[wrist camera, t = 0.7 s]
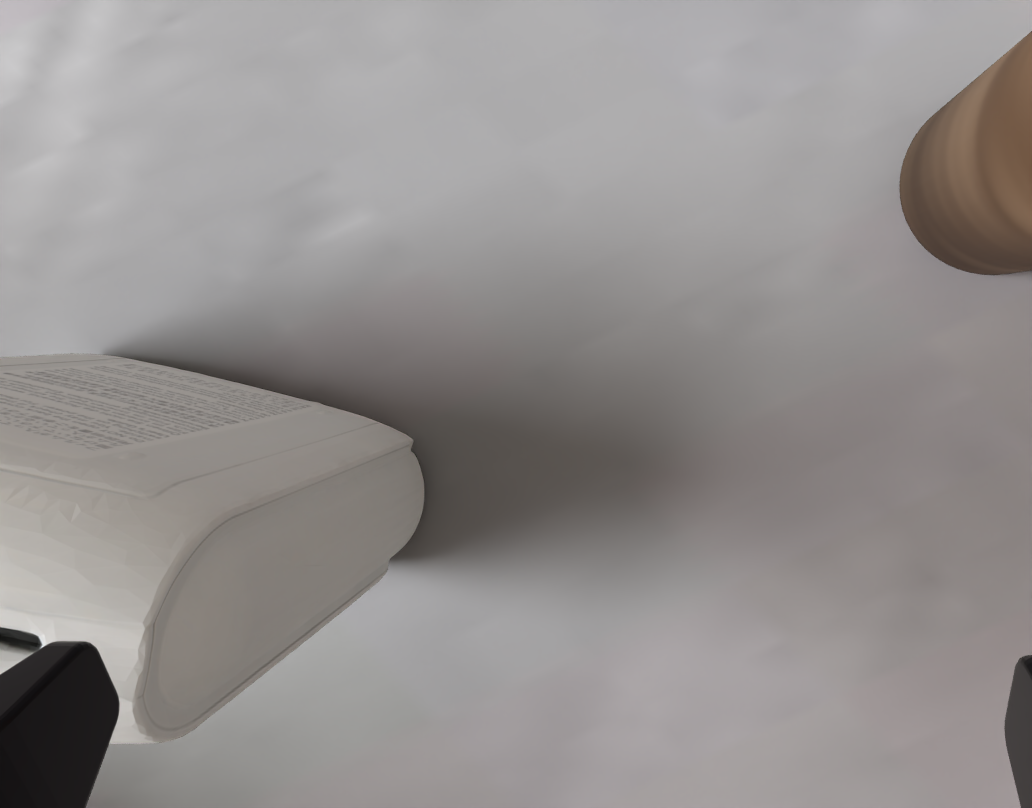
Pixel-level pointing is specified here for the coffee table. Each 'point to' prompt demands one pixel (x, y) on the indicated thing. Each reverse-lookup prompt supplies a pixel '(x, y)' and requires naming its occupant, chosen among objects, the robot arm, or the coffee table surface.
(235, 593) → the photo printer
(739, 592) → the coffee table surface
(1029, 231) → the walnut peg
